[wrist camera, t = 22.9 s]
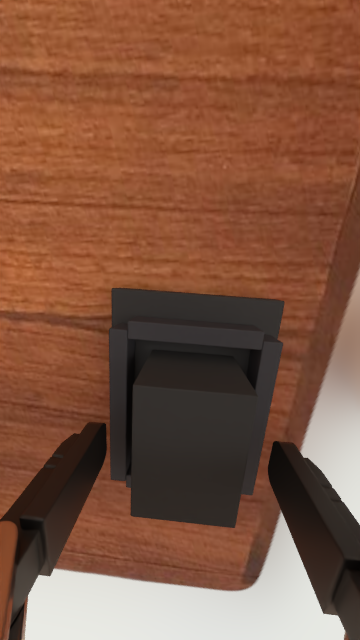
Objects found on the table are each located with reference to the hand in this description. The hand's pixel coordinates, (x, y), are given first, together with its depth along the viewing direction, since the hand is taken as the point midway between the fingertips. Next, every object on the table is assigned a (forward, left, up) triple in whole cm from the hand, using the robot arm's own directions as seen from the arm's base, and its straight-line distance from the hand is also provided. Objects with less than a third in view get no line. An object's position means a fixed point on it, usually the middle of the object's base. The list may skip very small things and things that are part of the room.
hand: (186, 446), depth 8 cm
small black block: (0, 0, -3) cm, 3 cm away
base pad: (0, 0, -4) cm, 4 cm away
